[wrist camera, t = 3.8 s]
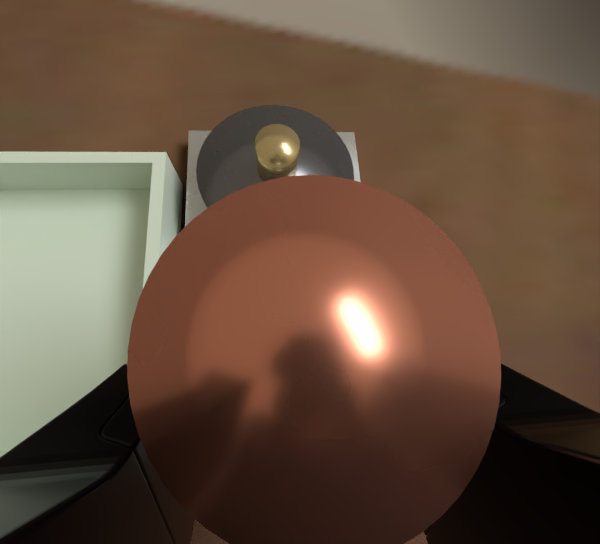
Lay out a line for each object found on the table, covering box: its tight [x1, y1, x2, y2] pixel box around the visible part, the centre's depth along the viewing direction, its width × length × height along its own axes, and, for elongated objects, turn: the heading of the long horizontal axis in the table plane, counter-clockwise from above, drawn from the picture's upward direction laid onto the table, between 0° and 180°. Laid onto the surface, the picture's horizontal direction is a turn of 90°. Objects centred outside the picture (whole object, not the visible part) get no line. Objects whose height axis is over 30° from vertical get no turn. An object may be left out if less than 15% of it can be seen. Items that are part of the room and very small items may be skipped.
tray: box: [0, 152, 183, 457], centre depth 14 cm, size 14×14×3 cm
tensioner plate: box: [185, 105, 360, 227], centre depth 15 cm, size 18×10×5 cm, turn 4°
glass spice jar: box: [127, 175, 501, 544], centre depth 9 cm, size 4×4×12 cm
